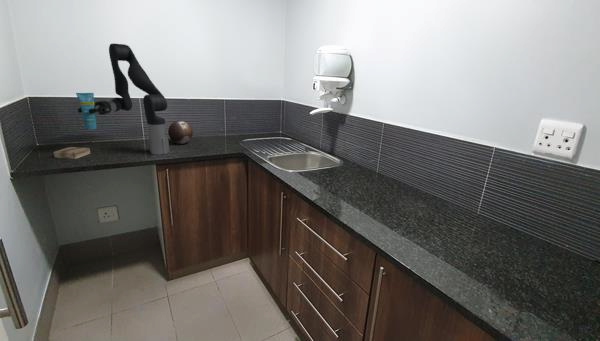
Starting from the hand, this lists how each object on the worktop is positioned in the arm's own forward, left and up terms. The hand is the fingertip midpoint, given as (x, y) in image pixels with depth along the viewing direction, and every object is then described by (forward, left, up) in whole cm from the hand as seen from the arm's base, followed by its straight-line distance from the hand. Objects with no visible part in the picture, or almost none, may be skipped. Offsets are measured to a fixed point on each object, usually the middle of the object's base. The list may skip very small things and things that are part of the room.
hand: (84, 110), depth 152 cm
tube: (0, -3, -10) cm, 11 cm away
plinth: (+7, +4, -24) cm, 25 cm away
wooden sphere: (-36, -35, -24) cm, 55 cm away
